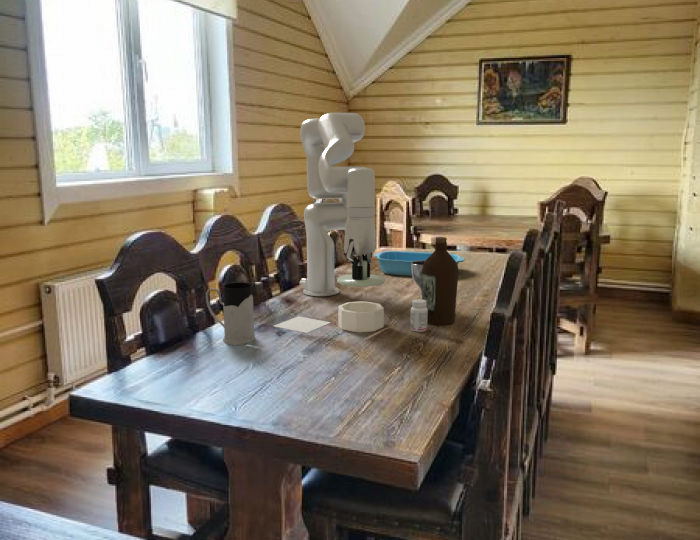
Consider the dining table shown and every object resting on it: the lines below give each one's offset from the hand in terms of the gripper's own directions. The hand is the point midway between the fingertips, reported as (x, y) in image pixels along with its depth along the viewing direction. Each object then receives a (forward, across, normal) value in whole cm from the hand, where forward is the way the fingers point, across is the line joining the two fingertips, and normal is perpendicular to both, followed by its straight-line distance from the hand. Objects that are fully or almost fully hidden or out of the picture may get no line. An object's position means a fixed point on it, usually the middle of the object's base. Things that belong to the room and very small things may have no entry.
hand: (361, 277), depth 173 cm
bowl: (+15, 0, 0) cm, 15 cm away
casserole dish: (+14, -79, -22) cm, 83 cm away
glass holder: (+15, +28, -24) cm, 40 cm away
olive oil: (+15, -18, +16) cm, 28 cm away
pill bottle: (+15, -7, +15) cm, 22 cm away
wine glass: (+15, -28, +6) cm, 32 cm away
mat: (+15, +8, -15) cm, 23 cm away
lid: (+1, 0, 0) cm, 1 cm away
